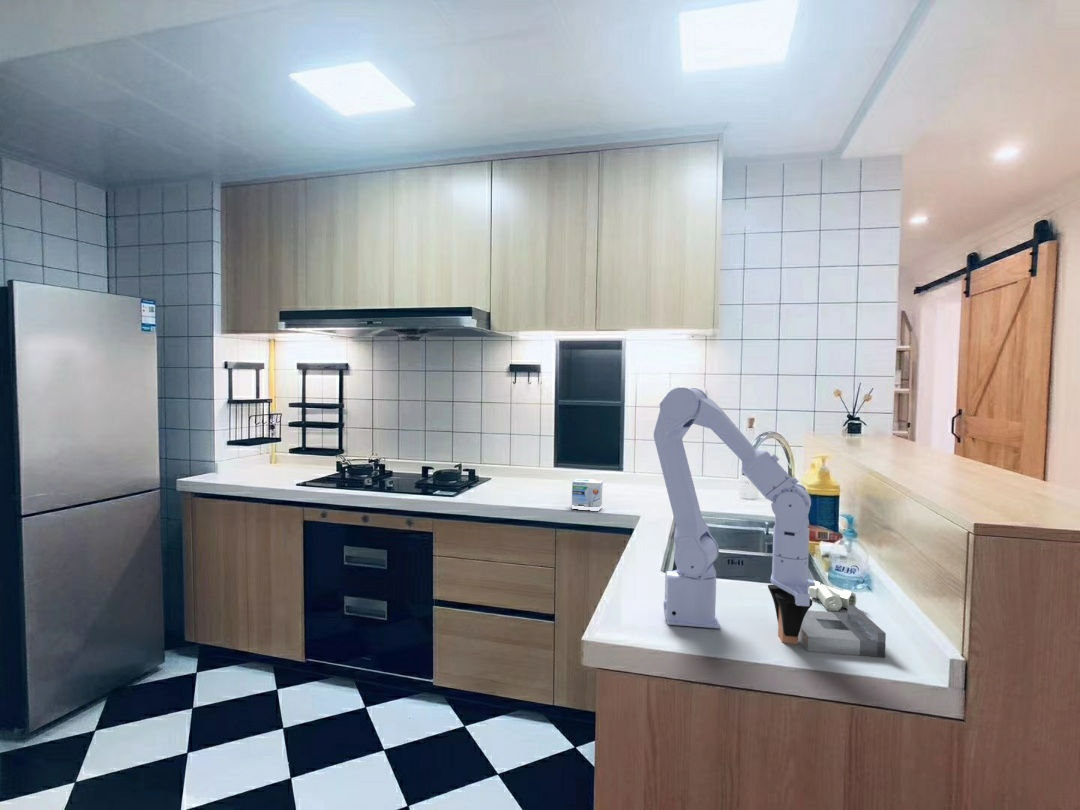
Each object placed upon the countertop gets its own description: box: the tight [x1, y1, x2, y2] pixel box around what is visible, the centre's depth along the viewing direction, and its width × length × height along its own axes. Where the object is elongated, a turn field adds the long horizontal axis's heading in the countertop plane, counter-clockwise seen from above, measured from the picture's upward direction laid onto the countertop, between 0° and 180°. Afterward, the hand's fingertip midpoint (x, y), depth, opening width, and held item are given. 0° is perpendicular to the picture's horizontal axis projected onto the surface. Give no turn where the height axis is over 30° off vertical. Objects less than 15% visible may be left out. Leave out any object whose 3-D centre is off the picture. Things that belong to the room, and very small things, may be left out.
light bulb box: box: [571, 478, 603, 507], centre depth 203 cm, size 11×7×11 cm, turn 77°
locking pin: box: [777, 607, 799, 645], centre depth 96 cm, size 3×3×6 cm
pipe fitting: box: [808, 580, 857, 612], centre depth 113 cm, size 8×4×7 cm
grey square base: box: [798, 605, 887, 658], centre depth 97 cm, size 12×12×4 cm
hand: (788, 631), depth 96 cm, fingers closed on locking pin, 3 cm apart
